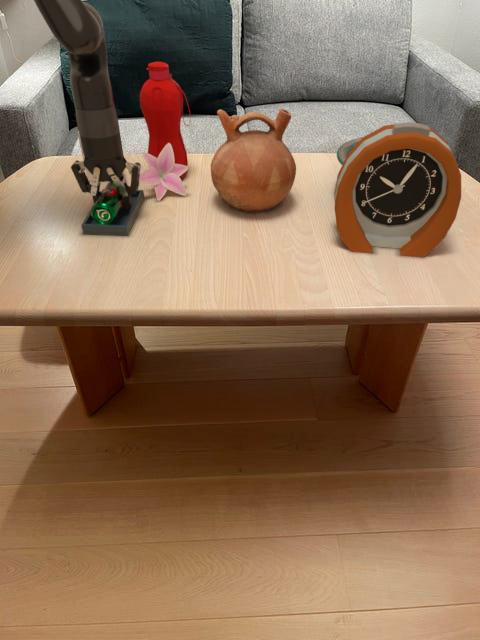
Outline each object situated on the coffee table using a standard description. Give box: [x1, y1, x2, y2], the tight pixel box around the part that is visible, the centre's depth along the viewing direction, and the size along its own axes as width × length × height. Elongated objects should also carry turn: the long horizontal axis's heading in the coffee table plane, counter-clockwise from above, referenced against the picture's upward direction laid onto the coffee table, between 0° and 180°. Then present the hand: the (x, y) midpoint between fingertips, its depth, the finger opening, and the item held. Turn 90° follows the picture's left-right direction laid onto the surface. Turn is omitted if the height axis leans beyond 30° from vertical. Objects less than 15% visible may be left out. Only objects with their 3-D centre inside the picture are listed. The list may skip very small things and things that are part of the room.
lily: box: [139, 143, 189, 202], centre depth 107 cm, size 12×12×10 cm
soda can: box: [90, 181, 123, 225], centre depth 98 cm, size 5×5×12 cm
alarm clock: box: [333, 121, 462, 258], centre depth 87 cm, size 22×10×23 cm, turn 82°
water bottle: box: [139, 61, 192, 180], centre depth 108 cm, size 9×11×25 cm
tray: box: [80, 188, 145, 237], centre depth 100 cm, size 16×9×2 cm, turn 177°
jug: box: [210, 108, 297, 214], centre depth 100 cm, size 18×18×20 cm
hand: (114, 209), depth 100 cm, fingers closed on soda can, 5 cm apart
